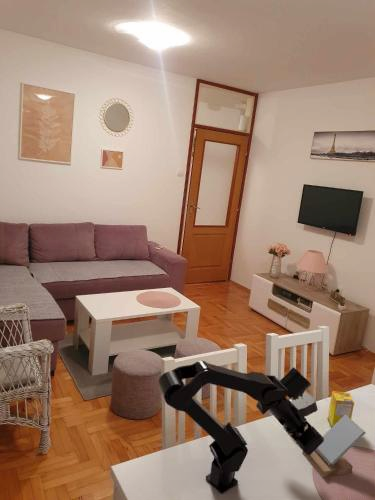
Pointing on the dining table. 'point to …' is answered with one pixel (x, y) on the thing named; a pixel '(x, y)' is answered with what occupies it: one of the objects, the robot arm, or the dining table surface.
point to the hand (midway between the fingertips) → (308, 439)
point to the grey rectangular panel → (339, 440)
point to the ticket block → (324, 468)
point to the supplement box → (340, 407)
